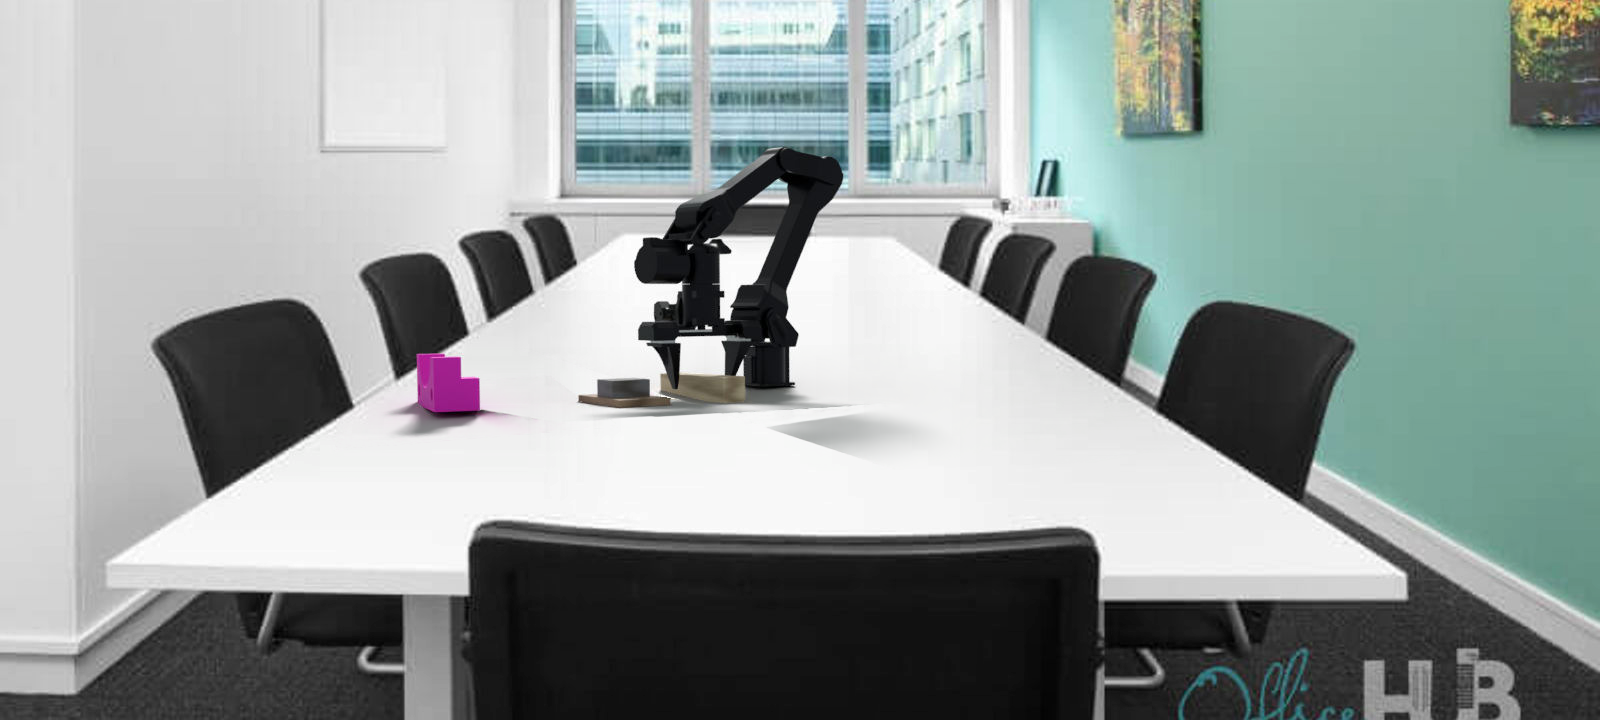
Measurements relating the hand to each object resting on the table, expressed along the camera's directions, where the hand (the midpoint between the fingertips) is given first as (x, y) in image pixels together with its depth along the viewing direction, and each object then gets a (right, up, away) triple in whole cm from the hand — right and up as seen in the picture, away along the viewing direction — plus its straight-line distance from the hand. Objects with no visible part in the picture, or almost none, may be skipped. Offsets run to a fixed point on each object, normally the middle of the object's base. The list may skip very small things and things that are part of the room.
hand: (702, 387), depth 203 cm
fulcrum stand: (-11, -2, -7) cm, 13 cm away
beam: (0, -2, 0) cm, 2 cm away
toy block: (-36, -3, -9) cm, 37 cm away
